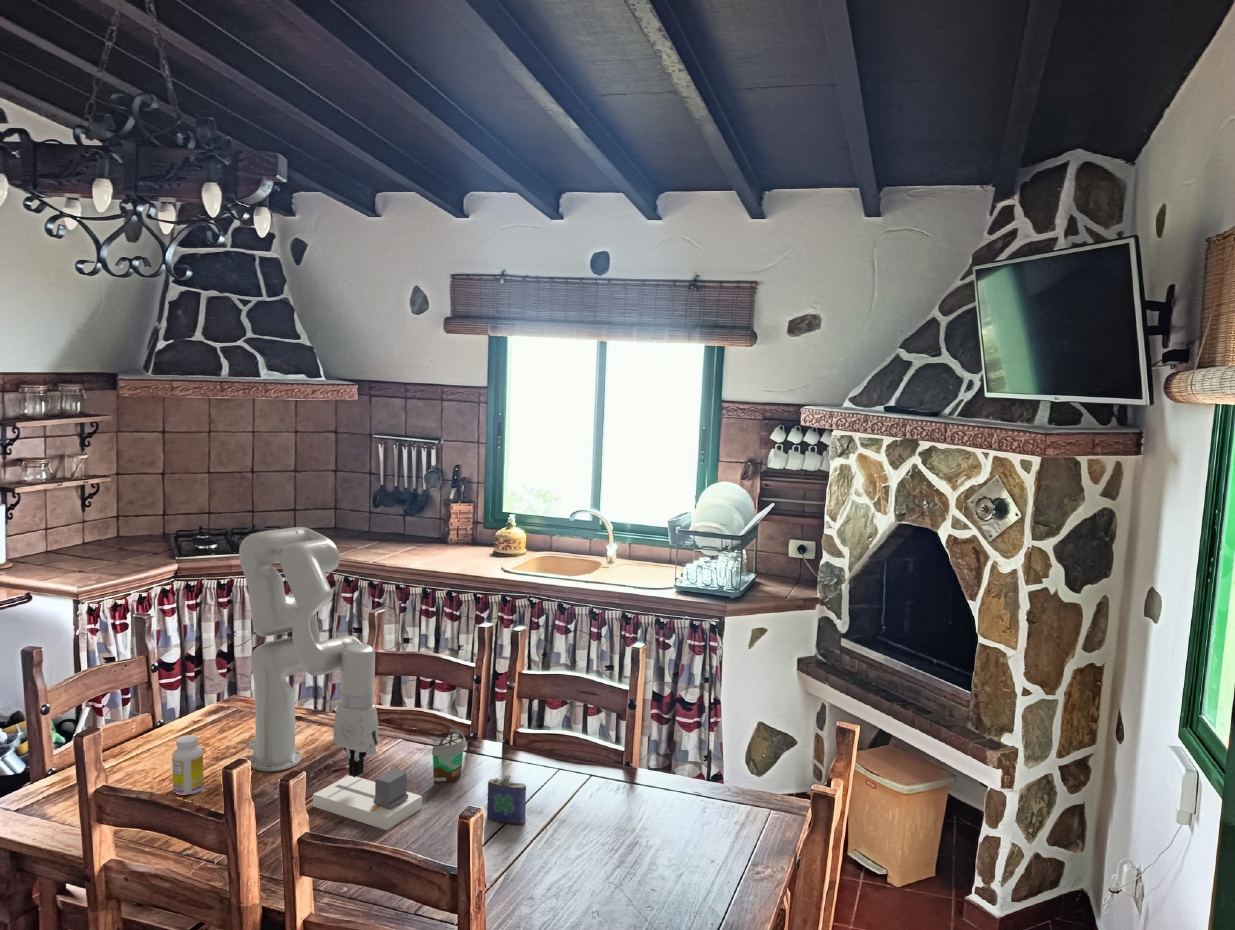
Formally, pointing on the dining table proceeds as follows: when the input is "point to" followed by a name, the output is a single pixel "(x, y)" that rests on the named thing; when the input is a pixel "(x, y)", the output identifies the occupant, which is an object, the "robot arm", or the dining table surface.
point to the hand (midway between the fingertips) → (356, 774)
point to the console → (363, 803)
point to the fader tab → (391, 789)
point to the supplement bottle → (187, 766)
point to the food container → (448, 758)
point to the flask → (506, 801)
